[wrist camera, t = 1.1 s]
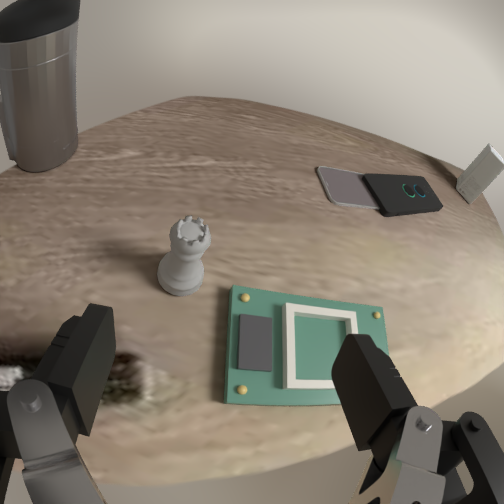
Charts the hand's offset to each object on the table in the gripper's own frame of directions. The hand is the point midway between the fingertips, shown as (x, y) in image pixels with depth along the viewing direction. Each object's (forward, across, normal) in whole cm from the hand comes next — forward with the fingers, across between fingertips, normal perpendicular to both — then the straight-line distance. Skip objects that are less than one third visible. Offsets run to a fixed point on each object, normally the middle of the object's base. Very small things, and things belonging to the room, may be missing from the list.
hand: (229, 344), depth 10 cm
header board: (+14, -11, +13) cm, 22 cm away
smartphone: (+37, -22, 0) cm, 43 cm away
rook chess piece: (+18, +3, +8) cm, 20 cm away
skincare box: (+53, -60, -6) cm, 80 cm away
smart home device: (+40, -32, -1) cm, 52 cm away
